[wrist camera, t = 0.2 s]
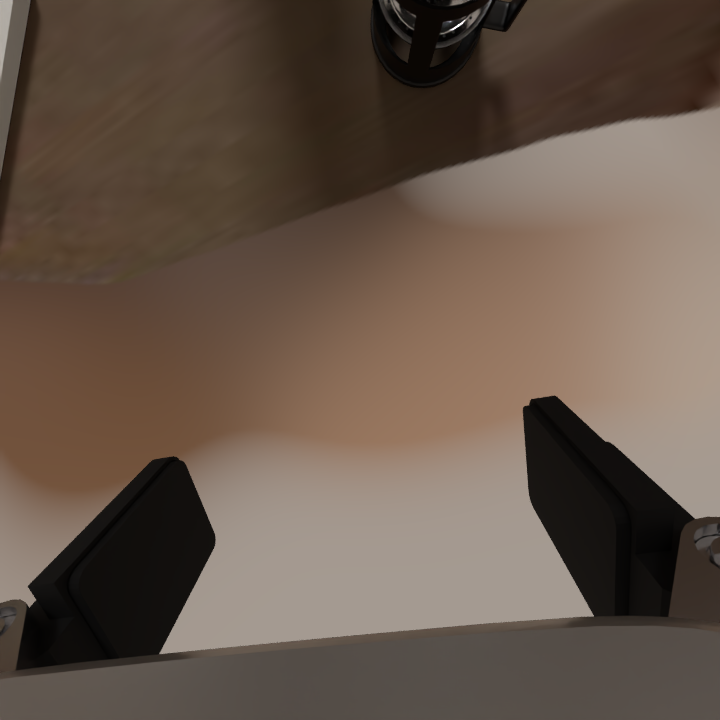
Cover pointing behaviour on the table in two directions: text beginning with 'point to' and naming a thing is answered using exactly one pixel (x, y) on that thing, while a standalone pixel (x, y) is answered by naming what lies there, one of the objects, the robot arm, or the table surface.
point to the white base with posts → (10, 60)
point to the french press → (435, 34)
